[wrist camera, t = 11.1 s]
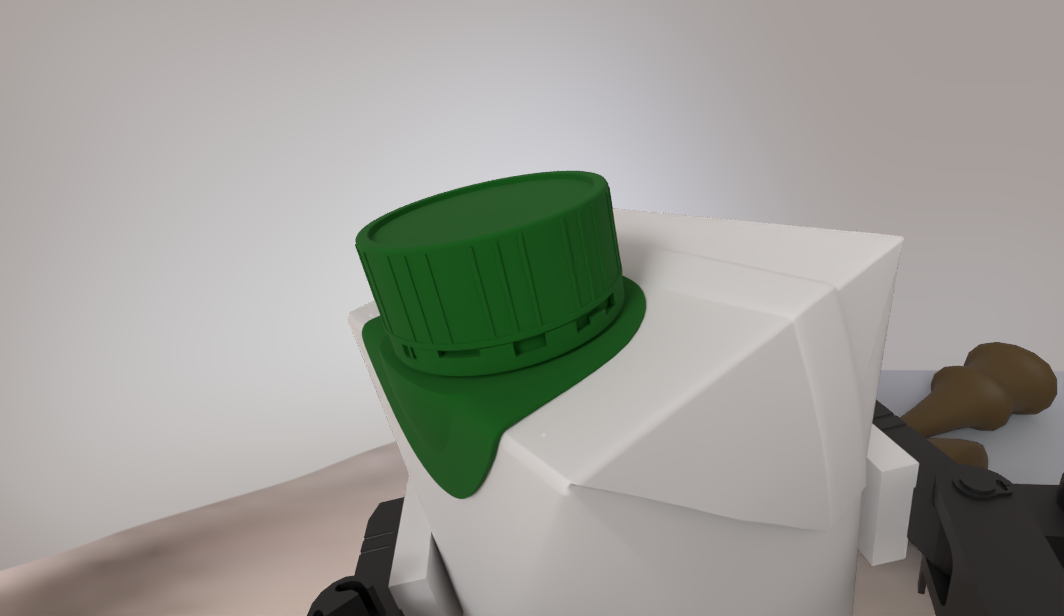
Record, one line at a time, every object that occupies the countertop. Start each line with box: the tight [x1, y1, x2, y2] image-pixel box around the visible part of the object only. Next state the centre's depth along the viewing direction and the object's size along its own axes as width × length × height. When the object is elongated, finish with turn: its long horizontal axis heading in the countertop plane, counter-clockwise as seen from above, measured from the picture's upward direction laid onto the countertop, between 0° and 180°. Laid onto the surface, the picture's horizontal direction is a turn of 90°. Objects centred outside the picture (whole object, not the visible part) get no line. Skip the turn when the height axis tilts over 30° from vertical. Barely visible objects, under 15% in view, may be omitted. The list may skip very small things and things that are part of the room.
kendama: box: [900, 342, 1057, 469], centre depth 32 cm, size 6×10×20 cm
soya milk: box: [348, 171, 904, 616], centre depth 13 cm, size 9×9×20 cm
